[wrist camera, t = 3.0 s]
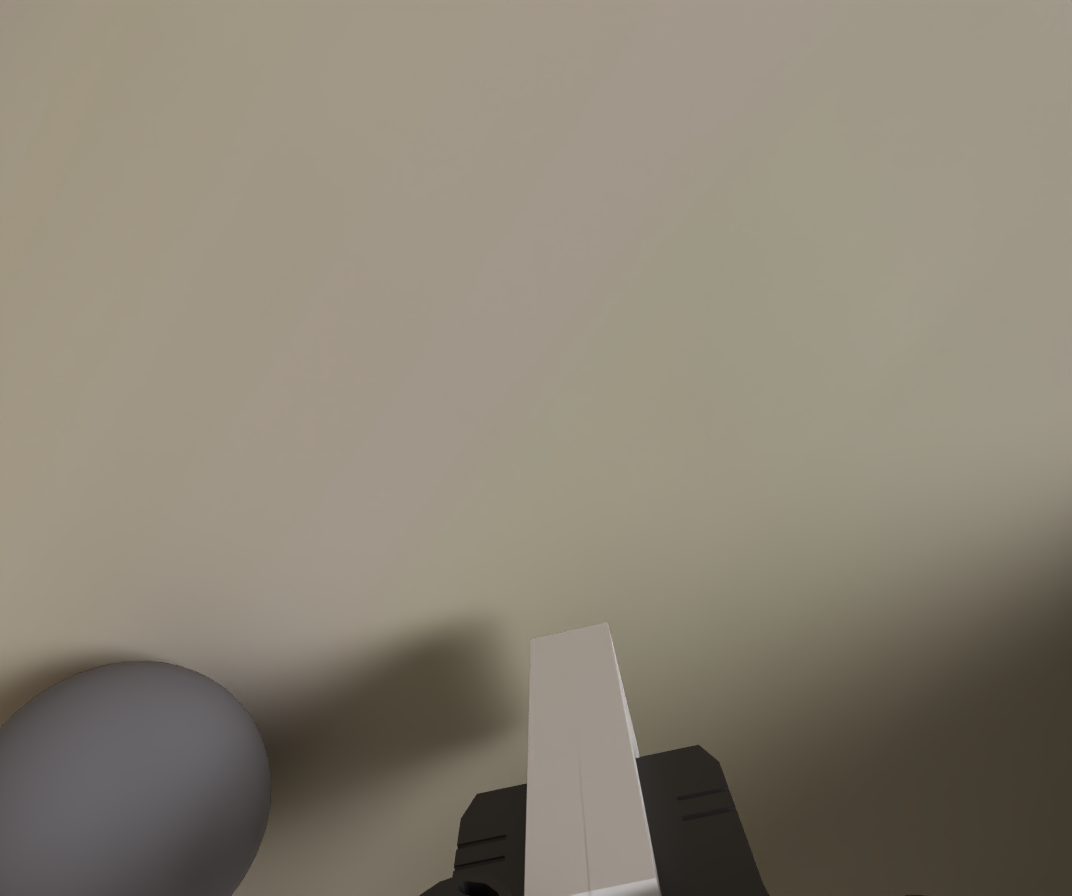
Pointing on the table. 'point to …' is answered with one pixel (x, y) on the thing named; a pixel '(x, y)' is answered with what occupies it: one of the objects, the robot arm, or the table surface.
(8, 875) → the charcoal ball
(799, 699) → the table surface
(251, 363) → the table surface
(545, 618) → the table surface
